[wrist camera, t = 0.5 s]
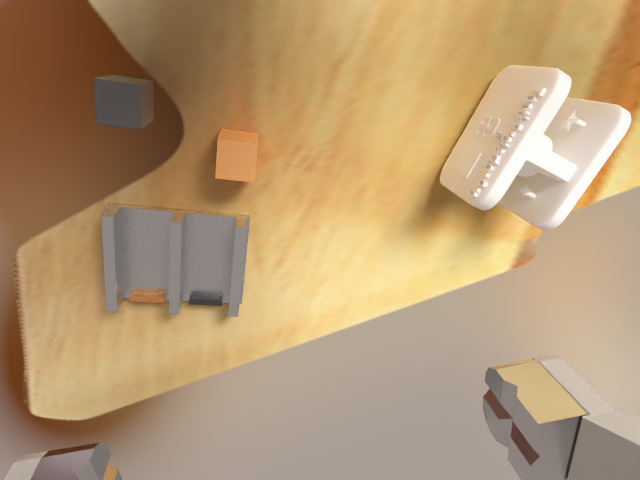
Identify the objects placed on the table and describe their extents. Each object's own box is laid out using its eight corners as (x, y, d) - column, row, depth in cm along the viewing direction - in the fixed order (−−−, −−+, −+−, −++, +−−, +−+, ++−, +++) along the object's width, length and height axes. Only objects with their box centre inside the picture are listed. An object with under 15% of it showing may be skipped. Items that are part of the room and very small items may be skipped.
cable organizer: (493, 207, 56) (549, 243, 45) (429, 176, 53) (474, 208, 42) (562, 100, 51) (642, 113, 41) (496, 59, 48) (565, 63, 37)
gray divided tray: (108, 203, 48) (96, 215, 44) (249, 215, 51) (249, 228, 47) (112, 293, 52) (102, 311, 49) (241, 299, 56) (241, 316, 52)
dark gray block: (113, 74, 43) (93, 78, 37) (154, 80, 43) (141, 85, 38) (114, 114, 44) (95, 123, 39) (154, 119, 45) (141, 129, 40)
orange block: (221, 128, 46) (217, 139, 41) (257, 133, 47) (258, 144, 42) (219, 163, 48) (215, 178, 42) (254, 167, 49) (254, 182, 43)
